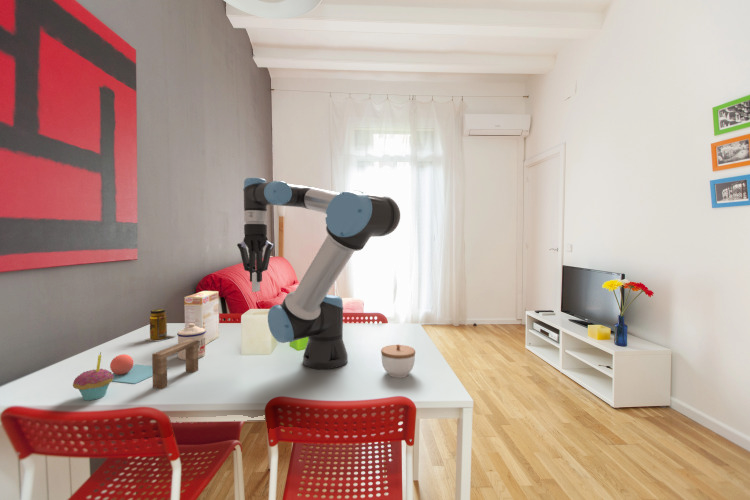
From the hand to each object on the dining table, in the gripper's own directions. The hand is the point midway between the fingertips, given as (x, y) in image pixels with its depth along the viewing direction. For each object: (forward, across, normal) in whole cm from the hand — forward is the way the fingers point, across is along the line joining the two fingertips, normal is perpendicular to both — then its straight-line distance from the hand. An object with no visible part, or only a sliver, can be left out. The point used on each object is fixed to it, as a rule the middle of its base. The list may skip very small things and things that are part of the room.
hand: (256, 291), depth 130 cm
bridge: (+24, -14, -22) cm, 35 cm away
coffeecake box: (+24, -31, +14) cm, 41 cm away
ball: (+21, -33, -22) cm, 45 cm away
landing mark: (+24, -29, -21) cm, 43 cm away
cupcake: (+24, -27, -37) cm, 52 cm away
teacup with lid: (+24, -23, -1) cm, 33 cm away
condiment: (+24, -51, +15) cm, 58 cm away
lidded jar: (+24, +50, -5) cm, 56 cm away
